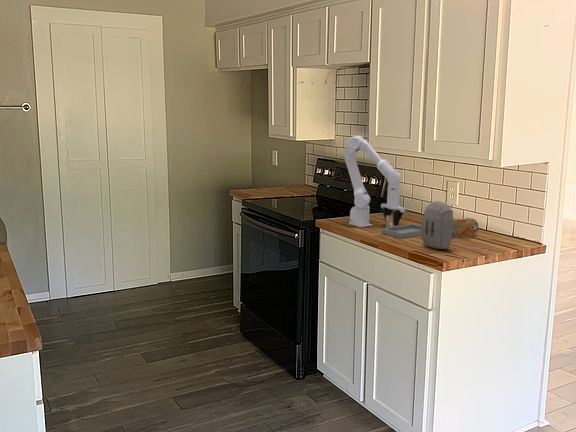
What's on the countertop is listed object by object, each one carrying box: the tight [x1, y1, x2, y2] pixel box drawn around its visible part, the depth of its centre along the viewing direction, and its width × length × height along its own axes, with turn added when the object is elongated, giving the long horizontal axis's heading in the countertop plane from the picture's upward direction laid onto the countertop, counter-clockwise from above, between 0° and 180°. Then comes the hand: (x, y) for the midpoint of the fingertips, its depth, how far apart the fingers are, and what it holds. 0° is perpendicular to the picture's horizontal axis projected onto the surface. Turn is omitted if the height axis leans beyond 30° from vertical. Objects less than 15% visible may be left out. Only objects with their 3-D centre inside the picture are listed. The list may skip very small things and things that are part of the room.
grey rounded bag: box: [420, 200, 454, 250], centre depth 238 cm, size 15×8×20 cm, turn 30°
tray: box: [381, 223, 422, 240], centre depth 265 cm, size 12×20×2 cm, turn 124°
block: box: [385, 214, 395, 228], centre depth 277 cm, size 4×4×6 cm
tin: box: [452, 217, 479, 238], centre depth 260 cm, size 15×3×8 cm, turn 105°
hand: (391, 224), depth 277 cm, fingers open, 5 cm apart
